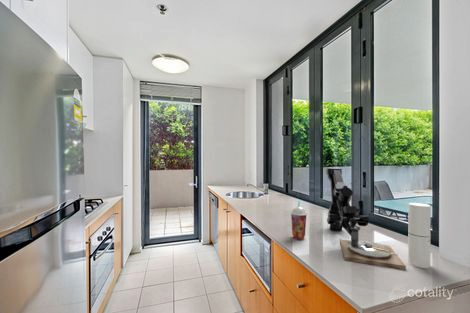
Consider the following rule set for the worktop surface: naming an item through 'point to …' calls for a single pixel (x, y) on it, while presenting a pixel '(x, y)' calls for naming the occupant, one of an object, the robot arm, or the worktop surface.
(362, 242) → the dial
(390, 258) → the board
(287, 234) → the worktop surface
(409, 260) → the cylindrical container
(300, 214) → the smoothie
